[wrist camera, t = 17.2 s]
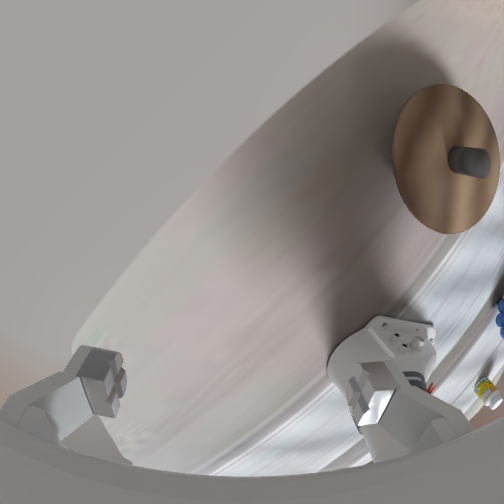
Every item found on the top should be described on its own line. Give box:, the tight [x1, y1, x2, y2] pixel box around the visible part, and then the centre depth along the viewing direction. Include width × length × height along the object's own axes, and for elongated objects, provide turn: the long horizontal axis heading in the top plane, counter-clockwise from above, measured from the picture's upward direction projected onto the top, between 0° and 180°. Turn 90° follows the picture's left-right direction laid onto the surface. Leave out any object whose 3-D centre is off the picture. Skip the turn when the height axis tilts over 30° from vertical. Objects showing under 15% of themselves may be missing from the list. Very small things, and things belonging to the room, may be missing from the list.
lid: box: [392, 84, 500, 234], centre depth 28 cm, size 20×20×6 cm
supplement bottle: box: [474, 377, 502, 410], centre depth 53 cm, size 5×5×10 cm
